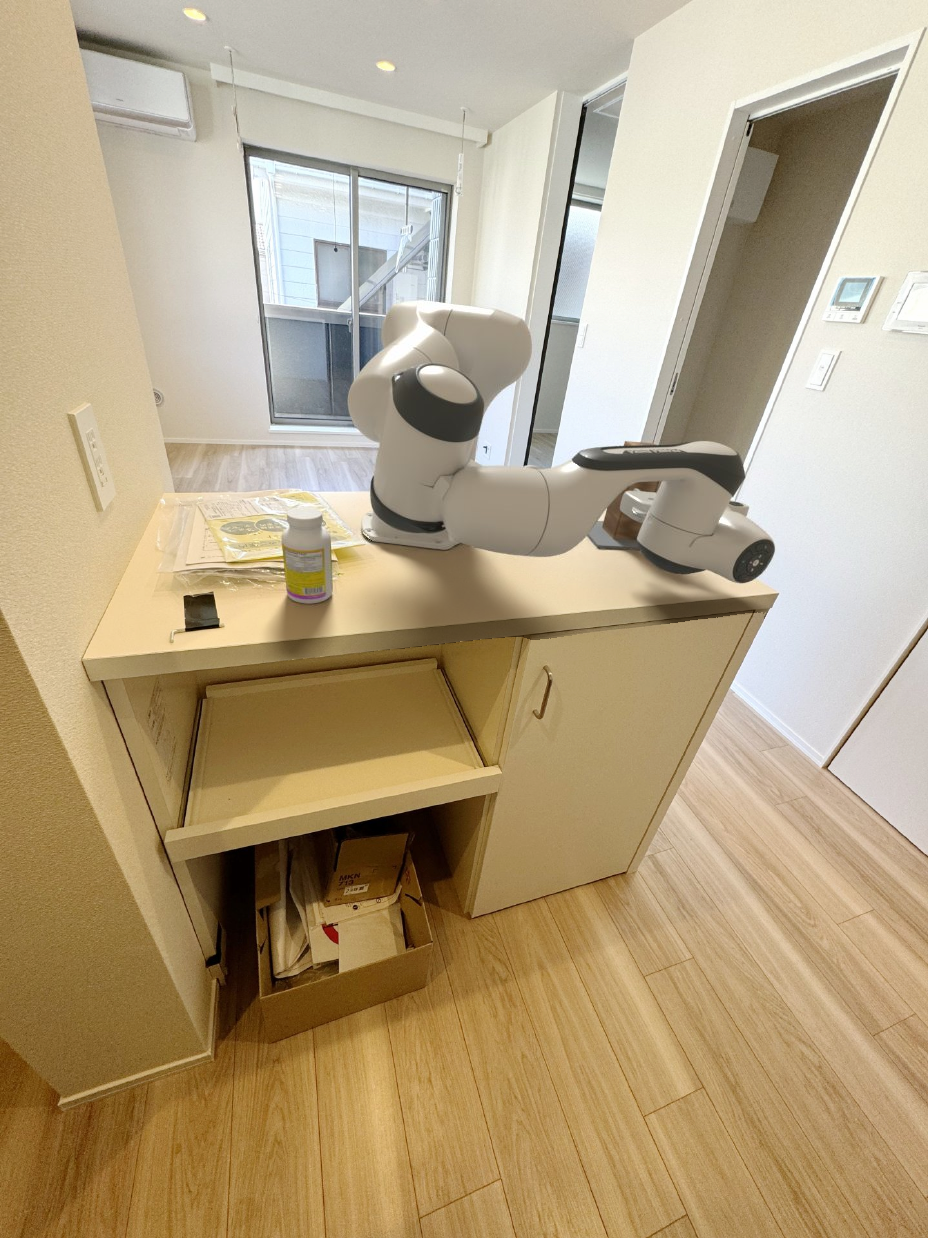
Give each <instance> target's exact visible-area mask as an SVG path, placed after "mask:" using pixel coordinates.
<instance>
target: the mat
mask: <svg viewBox="0 0 928 1238" xmlns="http://www.w3.org/2000/svg"><path fill="white" fill-rule="evenodd" d="M603 522H604V520H598V521H597V522H596V524H595V525H594V527H593V528H592V530H591V531H590V533H589V534H588V535H587V536H586V537H587V538H588V539H589V540H590V542H591V543H592V544H593V545H594V546H595V547H596V548H597V549H611V550H612V549H613V550H614V549H615V550H632V551H633V550H635V551H640V549H639V547H638V544H637V540H625V539H613V538H612V537H611V536H610V535H609V534H608V533H607V532H606V531H605V530H604V529H603V528H602V525H603Z"/></svg>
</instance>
